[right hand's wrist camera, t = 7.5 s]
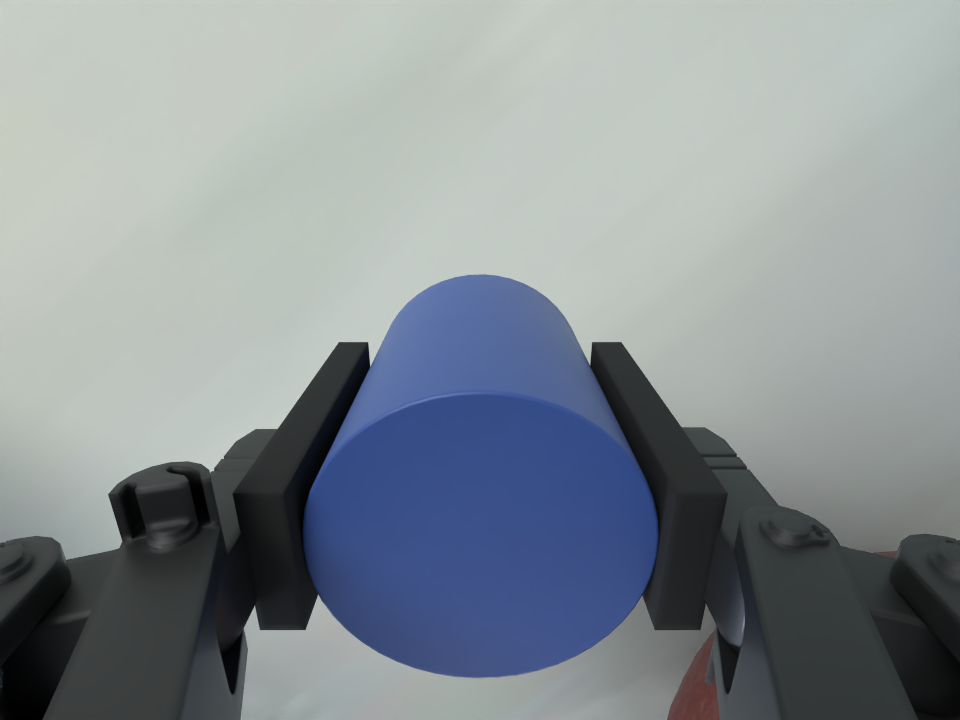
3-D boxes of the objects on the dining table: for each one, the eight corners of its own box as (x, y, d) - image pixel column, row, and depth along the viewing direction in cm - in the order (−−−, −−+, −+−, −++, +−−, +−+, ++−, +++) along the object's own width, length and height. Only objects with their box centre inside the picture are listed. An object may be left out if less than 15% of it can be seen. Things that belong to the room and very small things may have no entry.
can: (338, 351, 16) (224, 521, 9) (504, 230, 14) (528, 313, 7) (460, 489, 17) (446, 723, 10) (617, 392, 16) (723, 584, 9)
